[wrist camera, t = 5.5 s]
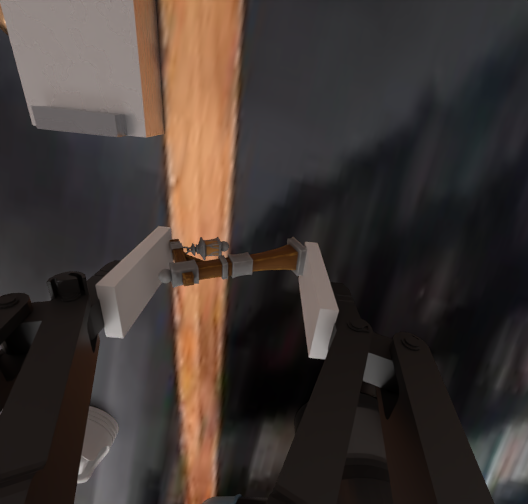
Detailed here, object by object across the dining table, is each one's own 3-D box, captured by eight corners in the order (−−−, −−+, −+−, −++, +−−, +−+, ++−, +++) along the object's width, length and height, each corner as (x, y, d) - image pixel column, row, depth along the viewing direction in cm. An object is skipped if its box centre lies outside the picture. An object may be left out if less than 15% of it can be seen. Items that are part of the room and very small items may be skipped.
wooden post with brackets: (153, 231, 16) (157, 270, 13) (276, 222, 19) (309, 251, 15) (156, 258, 17) (161, 301, 13) (274, 245, 20) (304, 278, 16)
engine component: (123, 415, 46) (61, 397, 44) (21, 616, 28) (-89, 598, 26) (113, 448, 50) (57, 433, 49) (20, 638, 32) (-73, 623, 31)
